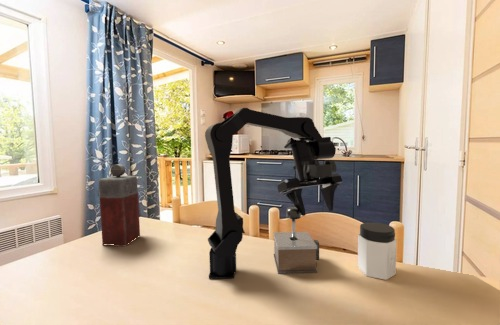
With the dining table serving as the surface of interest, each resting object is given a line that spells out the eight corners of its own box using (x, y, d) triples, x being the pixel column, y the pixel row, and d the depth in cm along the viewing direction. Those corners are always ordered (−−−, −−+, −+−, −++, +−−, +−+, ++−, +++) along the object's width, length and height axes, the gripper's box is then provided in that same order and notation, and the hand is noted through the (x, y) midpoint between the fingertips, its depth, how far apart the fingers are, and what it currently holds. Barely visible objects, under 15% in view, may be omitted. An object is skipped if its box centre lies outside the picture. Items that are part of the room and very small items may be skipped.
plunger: (281, 253, 65) (281, 213, 65) (277, 241, 73) (277, 205, 73) (311, 252, 65) (311, 212, 65) (304, 240, 73) (304, 204, 73)
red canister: (143, 234, 95) (140, 162, 93) (125, 246, 84) (121, 165, 82) (122, 233, 96) (118, 162, 94) (102, 245, 85) (96, 165, 83)
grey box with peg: (277, 273, 65) (277, 246, 64) (273, 255, 75) (273, 232, 74) (323, 272, 65) (323, 245, 64) (313, 254, 75) (313, 231, 74)
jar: (382, 283, 59) (383, 235, 58) (352, 269, 66) (352, 226, 65) (400, 272, 64) (402, 227, 63) (370, 260, 71) (371, 220, 70)
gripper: (290, 151, 61) (305, 214, 57) (347, 148, 68) (365, 203, 64) (271, 165, 71) (283, 219, 67) (323, 161, 78) (337, 210, 74)
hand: (318, 213), depth 67 cm, fingers open, 9 cm apart
